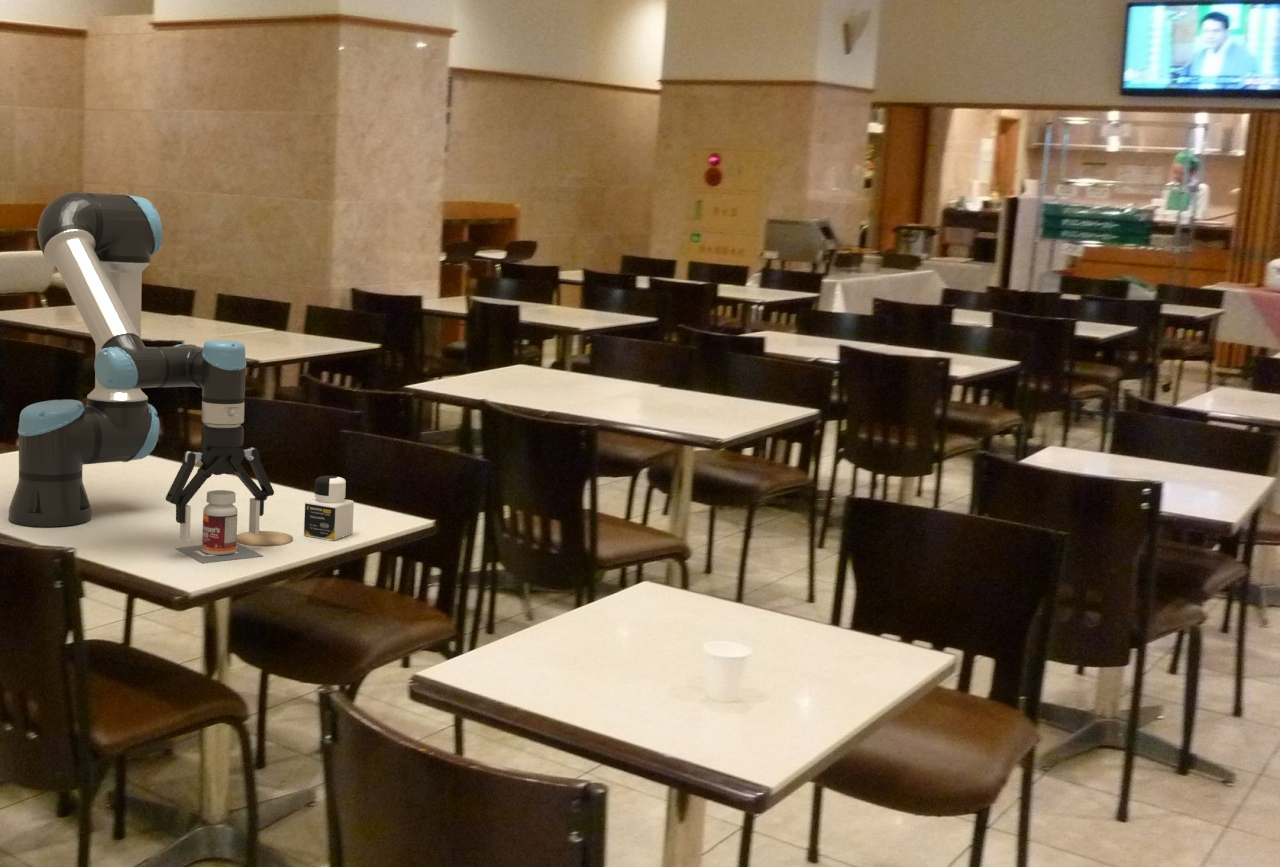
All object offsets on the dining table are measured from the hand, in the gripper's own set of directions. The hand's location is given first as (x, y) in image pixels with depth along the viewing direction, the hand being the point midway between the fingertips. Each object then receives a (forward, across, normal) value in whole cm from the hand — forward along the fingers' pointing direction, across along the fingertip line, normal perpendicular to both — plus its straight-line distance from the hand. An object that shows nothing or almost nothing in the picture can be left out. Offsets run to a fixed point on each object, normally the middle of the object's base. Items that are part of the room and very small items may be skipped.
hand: (220, 536), depth 257 cm
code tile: (+3, 0, 0) cm, 3 cm away
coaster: (+3, +12, +6) cm, 14 cm away
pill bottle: (+3, 0, 0) cm, 3 cm away
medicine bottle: (+3, +25, +4) cm, 26 cm away
